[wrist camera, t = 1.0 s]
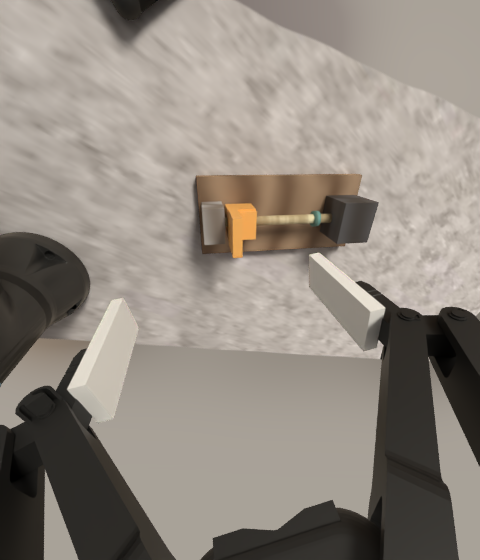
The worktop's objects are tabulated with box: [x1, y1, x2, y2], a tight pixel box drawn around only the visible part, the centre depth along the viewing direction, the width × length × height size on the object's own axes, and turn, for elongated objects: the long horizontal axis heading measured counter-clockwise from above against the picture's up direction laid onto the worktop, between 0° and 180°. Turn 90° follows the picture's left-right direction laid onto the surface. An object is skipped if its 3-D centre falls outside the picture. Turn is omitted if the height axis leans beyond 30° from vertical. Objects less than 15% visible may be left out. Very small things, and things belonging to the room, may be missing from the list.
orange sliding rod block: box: [225, 203, 257, 258], centre depth 33 cm, size 4×5×10 cm
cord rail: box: [196, 174, 379, 254], centre depth 36 cm, size 26×12×8 cm, turn 90°
